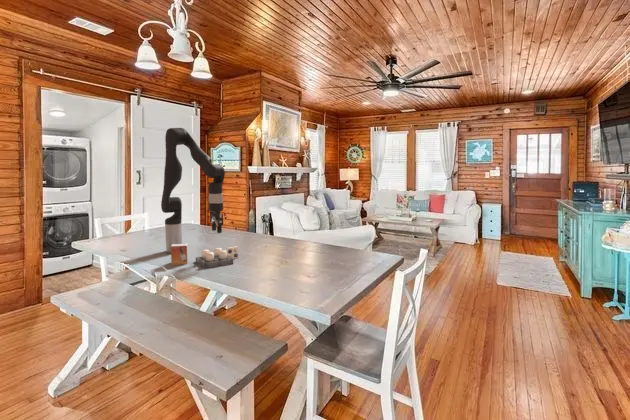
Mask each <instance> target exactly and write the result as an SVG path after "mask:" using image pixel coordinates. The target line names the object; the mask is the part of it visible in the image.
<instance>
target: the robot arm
mask: <svg viewBox="0 0 630 420" xmlns="http://www.w3.org/2000/svg"><path fill="white" fill-rule="evenodd" d="M164 139H165V162H164V163H165V164H164V175H163V177H164V178H163V190H162V196H161V201H160V204H161V205H160V206H161V211H162V212H163V213H165V214H169V213H171V214H172V215H171V216H169V217H167V218H165V220H164V228H165V229H164V231H165V233H164V235H165V250H166V252H165V253H169V254H171V246H172V244H183V231H182V230H183V229H182V219H183V218H182V216H183V213H182V211H183V209H182V207H183V206H182V205H183V203H182V199H181V198H180V197H179V196H173V197H172V196H171V195H172V192H173V190H174V189H175V188H176V187H177V185H178V184H179V183H180V181H181V180H182V174H183V173H182V172H183V166H182V163H181V162H180V160H179V158H178V156H177V146H180V145H181V146H182V145H184V146H186V147H187V148H188V149H189V152H190V157H191V158H192V160H193V161H194V162H195V163H196V164H197V165H198V166H199V167H200V168H201V170H202V171H203V173H204V174H205V176H207V177H208V178H210V179H212V178H213V180H212V181H211V182H210V183H208V211H209V222H210V223H211V231H212V232H214V231H216V232H217V234H222V232H223V230H222V226H223V225H224V214H223V213H221V212H222V211H224V195H223V194H224V193H223V184H224V180H225V175H226V174H225V173H226V171H225V168H224V166H223V165H222V164H214V163H212V162H213V160H212V158H211V157H210V156H209V155H208V154H207V153H206V152H205V151H204V150H203V149H202V148H201V147H200V146H199V145H198V143H197V142H196V140H194V138H193V137H192V136H191V134H190V133H189V132H188V130H186V128H183V127H173V128H172V127H170V128H167V129H166V132H165V138H164Z"/></svg>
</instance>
